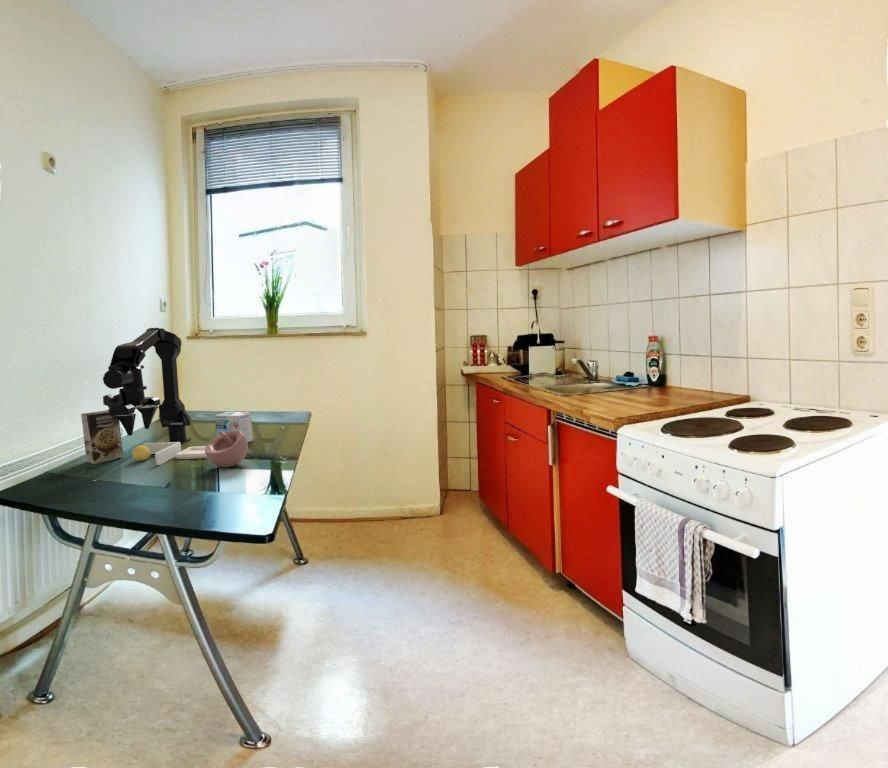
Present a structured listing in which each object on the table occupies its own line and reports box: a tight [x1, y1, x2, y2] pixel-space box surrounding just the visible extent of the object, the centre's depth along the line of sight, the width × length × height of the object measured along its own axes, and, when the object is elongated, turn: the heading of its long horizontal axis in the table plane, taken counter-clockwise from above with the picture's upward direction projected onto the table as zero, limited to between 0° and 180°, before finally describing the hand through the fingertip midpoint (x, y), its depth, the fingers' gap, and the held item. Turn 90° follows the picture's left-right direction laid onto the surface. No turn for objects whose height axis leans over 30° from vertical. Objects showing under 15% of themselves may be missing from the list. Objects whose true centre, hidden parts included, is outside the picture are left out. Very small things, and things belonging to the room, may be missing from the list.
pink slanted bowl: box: [205, 430, 249, 468], centre depth 157 cm, size 12×12×12 cm
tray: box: [174, 445, 208, 460], centre depth 174 cm, size 10×10×2 cm
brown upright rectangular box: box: [80, 409, 124, 465], centre depth 172 cm, size 9×6×16 cm
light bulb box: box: [214, 411, 254, 444], centre depth 189 cm, size 11×7×11 cm, turn 73°
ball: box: [131, 444, 151, 462], centre depth 169 cm, size 5×5×5 cm
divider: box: [142, 441, 182, 466], centre depth 169 cm, size 14×12×4 cm
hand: (138, 432), depth 168 cm, fingers open, 9 cm apart
